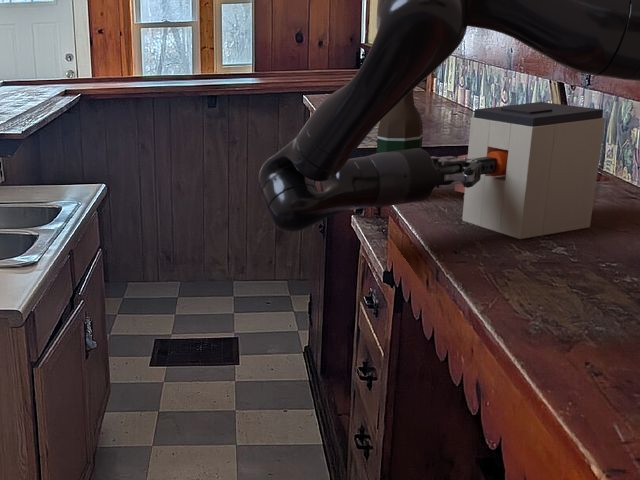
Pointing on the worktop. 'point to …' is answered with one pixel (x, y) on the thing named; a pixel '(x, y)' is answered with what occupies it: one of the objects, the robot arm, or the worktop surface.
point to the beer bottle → (400, 127)
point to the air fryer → (535, 168)
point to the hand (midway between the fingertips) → (492, 164)
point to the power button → (499, 162)
